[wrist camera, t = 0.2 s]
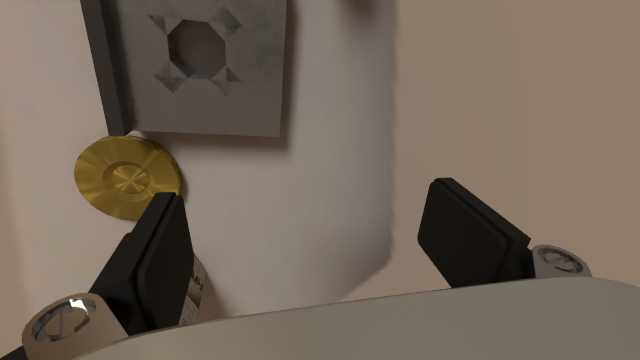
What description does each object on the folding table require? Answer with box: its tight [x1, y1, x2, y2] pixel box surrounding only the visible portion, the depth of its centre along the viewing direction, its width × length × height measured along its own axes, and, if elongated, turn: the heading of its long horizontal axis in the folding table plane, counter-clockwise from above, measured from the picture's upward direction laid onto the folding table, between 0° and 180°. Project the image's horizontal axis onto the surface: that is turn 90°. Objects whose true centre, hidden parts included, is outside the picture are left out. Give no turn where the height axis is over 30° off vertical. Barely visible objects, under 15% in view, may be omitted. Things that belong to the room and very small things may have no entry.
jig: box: [80, 0, 287, 137], centre depth 32 cm, size 18×18×6 cm
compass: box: [74, 135, 181, 221], centre depth 39 cm, size 12×12×2 cm
